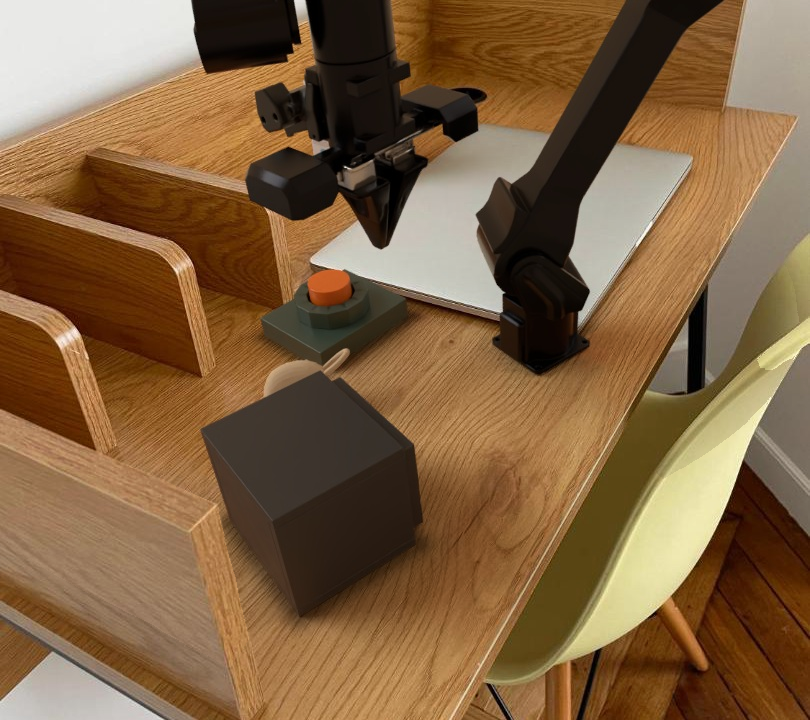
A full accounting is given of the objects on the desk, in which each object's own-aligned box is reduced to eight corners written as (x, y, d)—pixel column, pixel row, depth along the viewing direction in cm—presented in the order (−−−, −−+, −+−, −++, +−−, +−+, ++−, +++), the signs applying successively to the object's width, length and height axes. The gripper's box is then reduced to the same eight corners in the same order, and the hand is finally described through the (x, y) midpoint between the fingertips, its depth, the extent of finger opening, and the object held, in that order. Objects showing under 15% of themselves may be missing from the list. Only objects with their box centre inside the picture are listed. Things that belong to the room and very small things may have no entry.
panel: (347, 286, 87) (342, 253, 84) (408, 316, 81) (404, 282, 79) (264, 336, 81) (256, 302, 78) (324, 372, 75) (317, 337, 73)
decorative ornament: (261, 407, 72) (248, 359, 69) (355, 388, 73) (347, 339, 70) (264, 437, 69) (251, 389, 66) (362, 417, 70) (354, 368, 67)
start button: (333, 280, 81) (330, 264, 80) (360, 293, 79) (358, 278, 78) (301, 298, 79) (298, 282, 78) (329, 313, 77) (326, 297, 75)
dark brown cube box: (338, 463, 66) (320, 369, 60) (416, 544, 59) (403, 447, 53) (230, 522, 62) (199, 428, 56) (299, 617, 55) (272, 521, 49)
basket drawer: (366, 445, 66) (353, 369, 61) (437, 514, 60) (429, 435, 55) (259, 504, 62) (236, 427, 57) (322, 585, 56) (303, 506, 51)
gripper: (376, 0, 67) (396, 177, 76) (178, 71, 58) (229, 263, 67) (478, 20, 60) (486, 212, 70) (273, 104, 51) (315, 312, 60)
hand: (380, 246), depth 67 cm, fingers closed
